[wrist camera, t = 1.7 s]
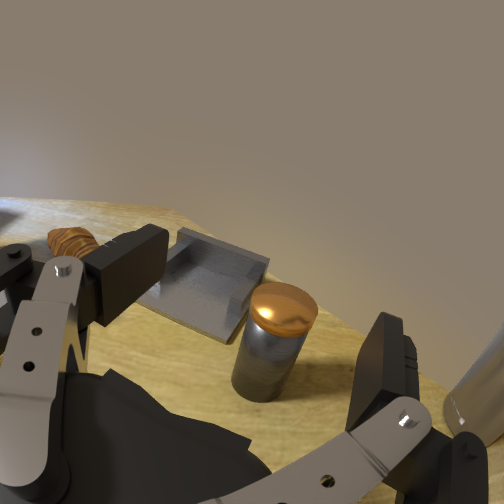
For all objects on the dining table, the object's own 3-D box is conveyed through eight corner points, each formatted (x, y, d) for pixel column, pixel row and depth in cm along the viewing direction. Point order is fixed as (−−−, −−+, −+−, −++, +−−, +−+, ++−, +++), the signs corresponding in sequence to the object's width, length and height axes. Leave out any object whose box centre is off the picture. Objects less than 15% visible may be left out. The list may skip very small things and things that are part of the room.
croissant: (33, 250, 39) (29, 219, 36) (67, 234, 44) (66, 205, 42) (86, 293, 35) (83, 258, 32) (125, 271, 40) (125, 237, 38)
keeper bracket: (179, 255, 46) (183, 226, 43) (261, 287, 43) (269, 258, 41) (128, 298, 35) (128, 265, 33) (225, 344, 33) (233, 311, 31)
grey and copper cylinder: (283, 366, 32) (315, 289, 27) (282, 407, 27) (320, 331, 22) (233, 356, 32) (254, 276, 27) (226, 397, 27) (249, 317, 22)
